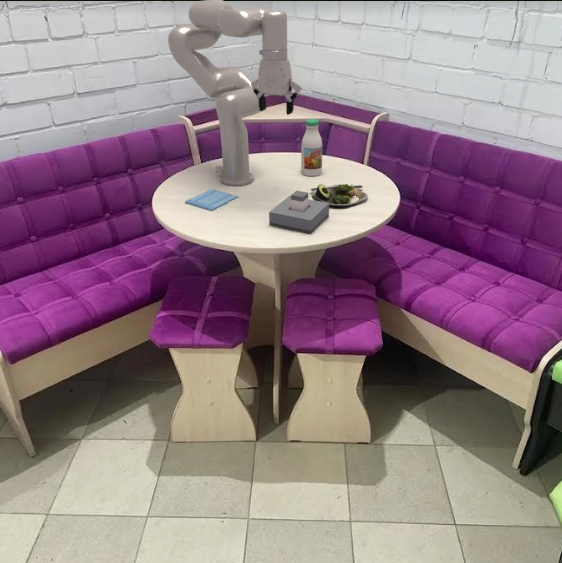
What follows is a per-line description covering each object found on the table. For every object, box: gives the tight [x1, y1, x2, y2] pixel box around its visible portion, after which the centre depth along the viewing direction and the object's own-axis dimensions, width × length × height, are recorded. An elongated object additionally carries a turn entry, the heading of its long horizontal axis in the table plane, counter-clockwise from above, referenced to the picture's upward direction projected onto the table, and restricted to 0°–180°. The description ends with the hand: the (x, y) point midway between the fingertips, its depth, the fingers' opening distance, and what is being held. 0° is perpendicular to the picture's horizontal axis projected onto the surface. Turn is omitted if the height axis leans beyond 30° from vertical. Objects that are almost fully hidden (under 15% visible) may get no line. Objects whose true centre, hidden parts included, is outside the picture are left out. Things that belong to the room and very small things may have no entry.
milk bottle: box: [300, 118, 323, 177], centre depth 208 cm, size 8×8×20 cm
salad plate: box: [310, 183, 368, 209], centre depth 192 cm, size 19×18×5 cm
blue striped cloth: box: [184, 188, 239, 212], centre depth 192 cm, size 14×12×1 cm
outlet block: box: [268, 195, 330, 235], centre depth 176 cm, size 14×14×4 cm
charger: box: [290, 190, 309, 212], centre depth 174 cm, size 4×4×8 cm
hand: (276, 112), depth 181 cm, fingers open, 9 cm apart
